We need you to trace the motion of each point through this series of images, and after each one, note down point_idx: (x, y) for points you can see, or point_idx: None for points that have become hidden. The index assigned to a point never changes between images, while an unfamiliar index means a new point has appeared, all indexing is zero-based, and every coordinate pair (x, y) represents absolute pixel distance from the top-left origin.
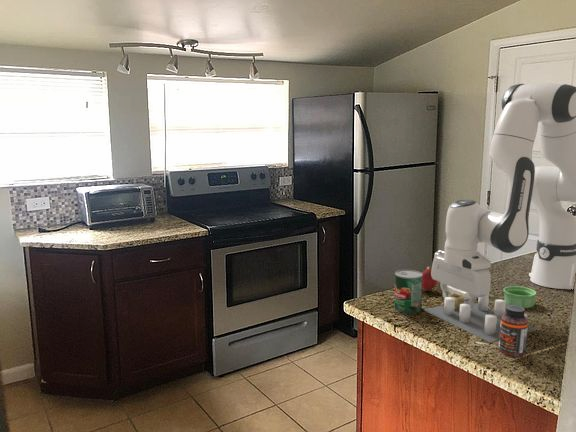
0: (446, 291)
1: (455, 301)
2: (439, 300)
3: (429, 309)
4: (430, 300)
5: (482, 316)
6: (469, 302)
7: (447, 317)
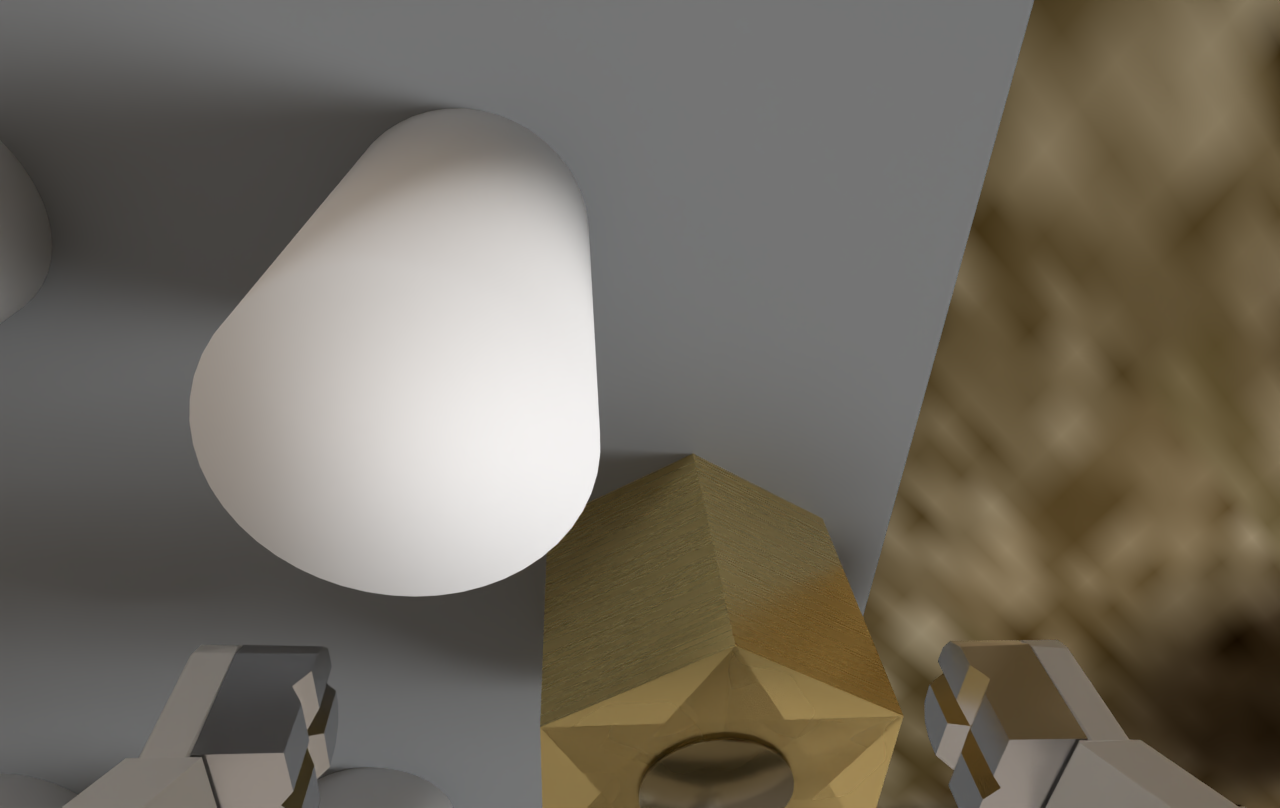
0: (1053, 793)
1: (598, 630)
2: (1118, 593)
3: (954, 19)
4: (1250, 477)
5: (92, 654)
6: (138, 759)
7: (271, 7)
